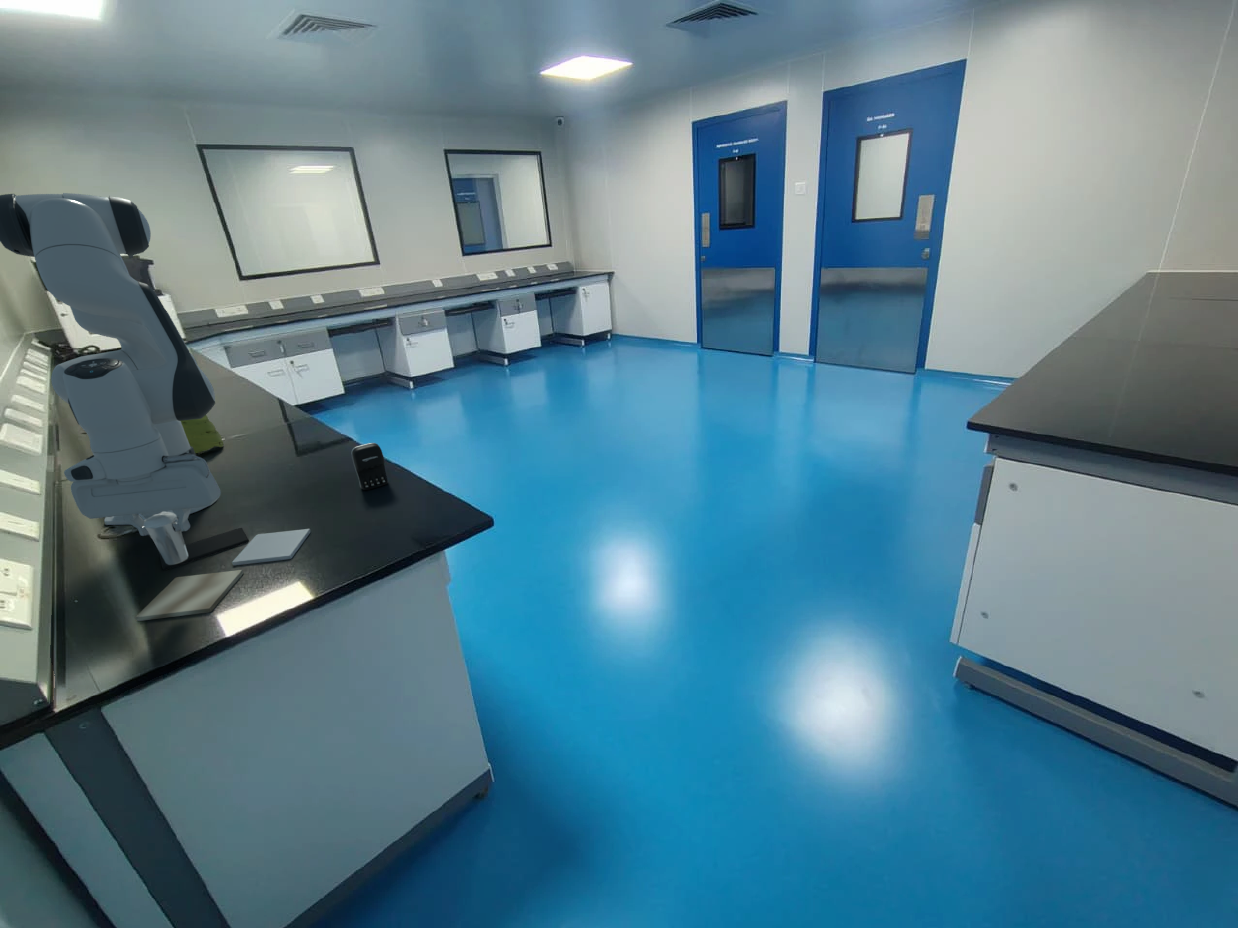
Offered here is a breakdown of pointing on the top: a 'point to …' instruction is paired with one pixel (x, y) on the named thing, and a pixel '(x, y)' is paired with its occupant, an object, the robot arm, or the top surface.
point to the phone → (210, 546)
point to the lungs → (201, 434)
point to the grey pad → (272, 547)
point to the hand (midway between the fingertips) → (166, 531)
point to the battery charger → (369, 466)
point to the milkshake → (166, 537)
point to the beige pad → (190, 595)
